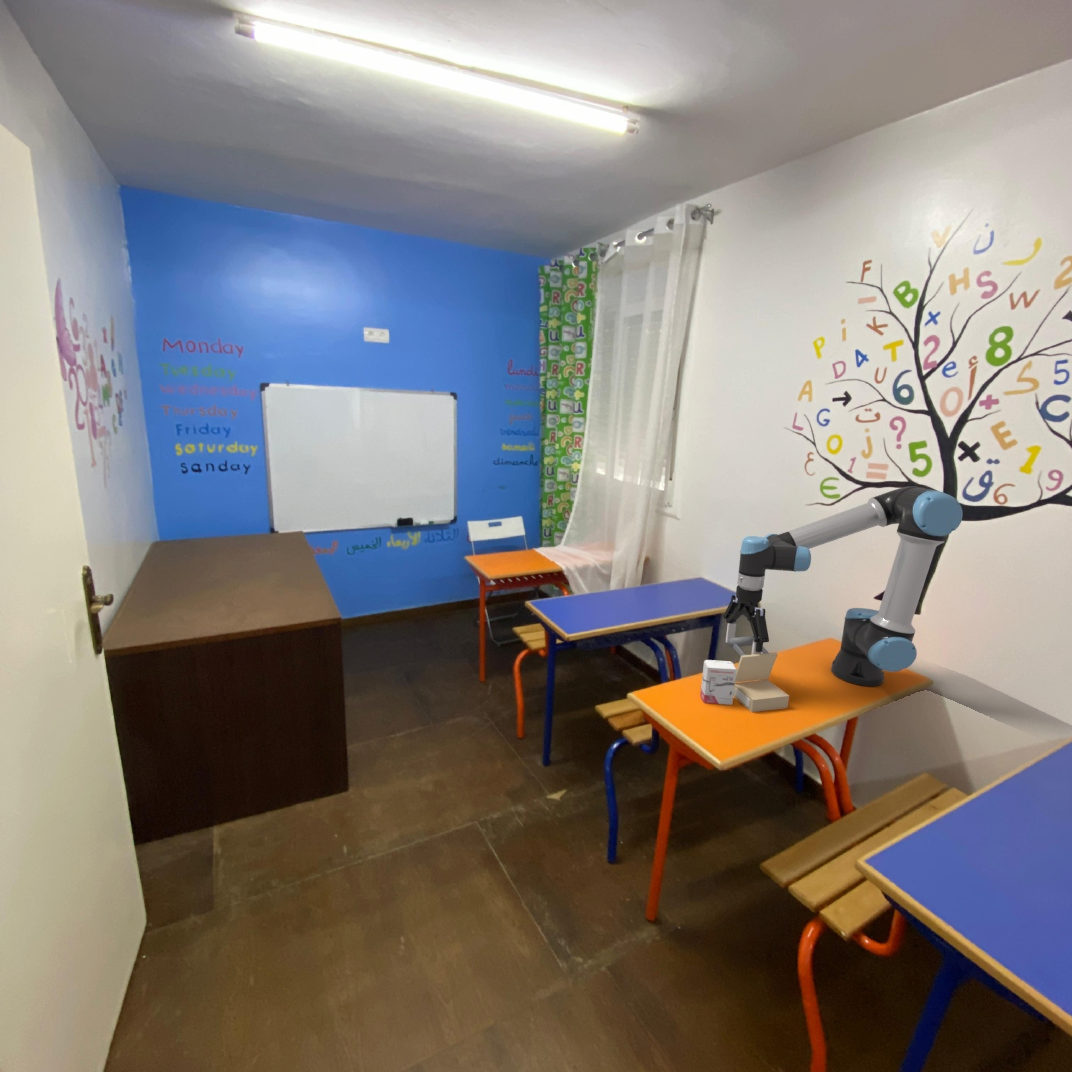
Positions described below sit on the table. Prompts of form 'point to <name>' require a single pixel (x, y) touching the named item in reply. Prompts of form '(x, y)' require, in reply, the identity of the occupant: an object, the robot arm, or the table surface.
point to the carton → (760, 695)
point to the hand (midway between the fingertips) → (742, 651)
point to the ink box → (718, 682)
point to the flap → (752, 661)
